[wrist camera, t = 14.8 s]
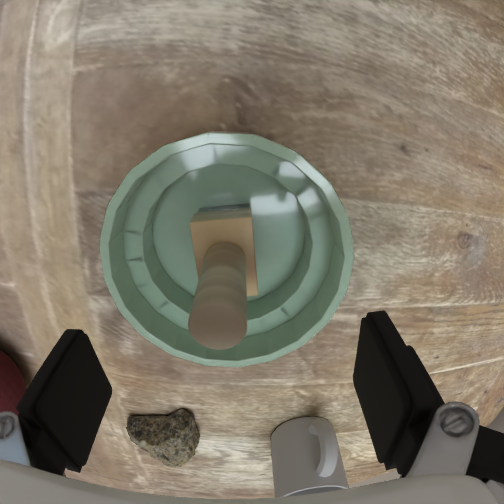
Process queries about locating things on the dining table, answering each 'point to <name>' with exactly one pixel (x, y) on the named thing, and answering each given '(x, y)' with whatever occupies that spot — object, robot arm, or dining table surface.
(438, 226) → the dining table surface
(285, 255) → the bowl
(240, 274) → the wooden stamp
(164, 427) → the rock
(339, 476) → the cup
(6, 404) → the decorative ball
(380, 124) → the dining table surface
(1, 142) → the dining table surface
